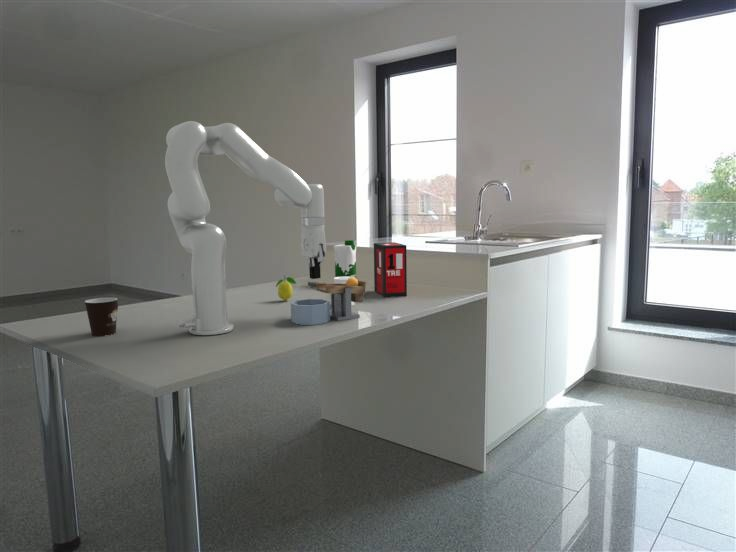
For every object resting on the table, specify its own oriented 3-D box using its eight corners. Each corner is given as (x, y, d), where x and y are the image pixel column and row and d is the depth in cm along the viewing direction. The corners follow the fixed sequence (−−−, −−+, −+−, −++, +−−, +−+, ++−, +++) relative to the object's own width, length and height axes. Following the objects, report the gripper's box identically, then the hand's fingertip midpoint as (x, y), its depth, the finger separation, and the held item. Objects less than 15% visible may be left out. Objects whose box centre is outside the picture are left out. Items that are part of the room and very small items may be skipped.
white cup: (353, 307, 198) (352, 279, 197) (331, 307, 200) (331, 279, 198) (358, 303, 206) (357, 276, 204) (337, 302, 207) (336, 276, 206)
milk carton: (350, 287, 245) (349, 241, 242) (332, 286, 248) (331, 241, 246) (359, 284, 253) (358, 239, 250) (341, 283, 256) (340, 239, 254)
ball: (348, 289, 181) (351, 277, 181) (342, 287, 184) (345, 275, 184) (359, 291, 183) (361, 279, 183) (353, 289, 186) (355, 277, 186)
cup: (302, 326, 169) (301, 307, 168) (287, 320, 179) (286, 301, 178) (335, 321, 175) (334, 302, 174) (318, 315, 185) (318, 297, 184)
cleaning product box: (374, 291, 233) (373, 243, 230) (395, 289, 235) (394, 242, 232) (384, 297, 217) (384, 246, 214) (406, 296, 219) (406, 245, 216)
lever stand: (337, 320, 176) (337, 289, 175) (323, 315, 185) (322, 285, 183) (359, 317, 180) (359, 287, 179) (344, 312, 189) (343, 283, 187)
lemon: (297, 301, 212) (296, 275, 211) (282, 303, 209) (281, 276, 207) (289, 298, 217) (288, 273, 216) (275, 300, 214) (274, 274, 213)
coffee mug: (99, 338, 158) (96, 303, 157) (81, 335, 163) (78, 301, 162) (135, 330, 168) (132, 297, 167) (117, 327, 173) (115, 295, 171)
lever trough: (326, 302, 175) (327, 281, 174) (307, 296, 186) (308, 276, 186) (364, 302, 182) (365, 281, 182) (343, 296, 194) (344, 277, 193)
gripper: (293, 222, 186) (295, 277, 189) (312, 223, 174) (315, 282, 176) (313, 221, 190) (315, 275, 193) (334, 222, 178) (336, 279, 180)
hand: (315, 278), depth 184 cm, fingers closed
